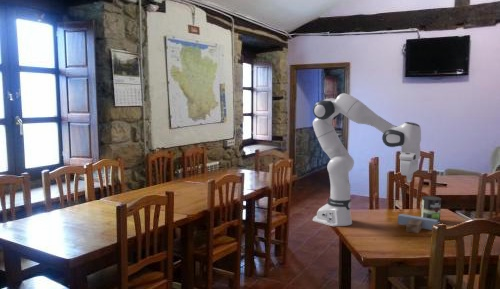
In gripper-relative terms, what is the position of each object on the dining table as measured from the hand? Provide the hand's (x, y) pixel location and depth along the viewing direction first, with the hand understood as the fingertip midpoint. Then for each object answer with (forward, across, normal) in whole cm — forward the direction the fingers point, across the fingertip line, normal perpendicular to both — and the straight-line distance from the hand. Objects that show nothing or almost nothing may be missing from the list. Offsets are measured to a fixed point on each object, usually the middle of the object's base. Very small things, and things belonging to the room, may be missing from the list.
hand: (409, 181), depth 201 cm
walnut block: (+29, -15, 0) cm, 33 cm away
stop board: (+29, -22, 0) cm, 36 cm away
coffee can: (+29, -36, +4) cm, 47 cm away
